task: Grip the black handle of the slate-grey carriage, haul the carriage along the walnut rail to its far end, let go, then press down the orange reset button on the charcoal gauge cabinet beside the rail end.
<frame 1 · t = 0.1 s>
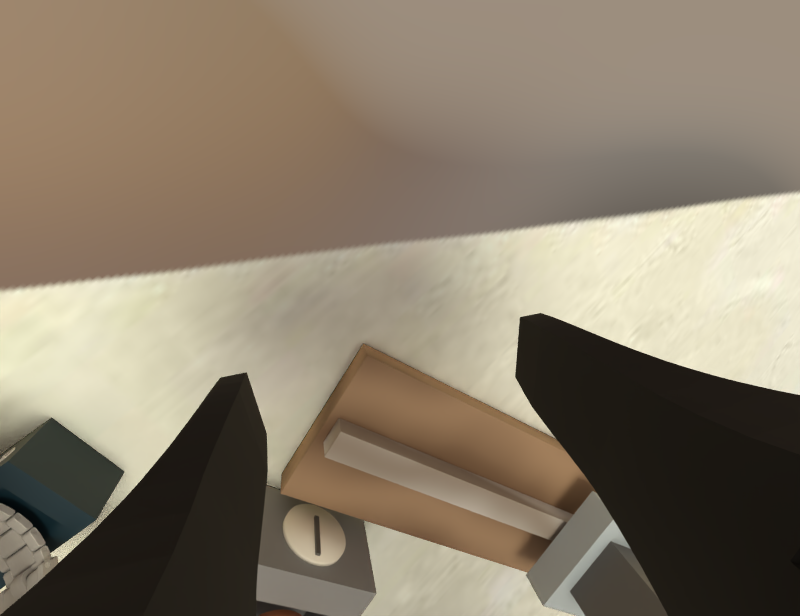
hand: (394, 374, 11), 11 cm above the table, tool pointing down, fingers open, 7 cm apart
carriage: (626, 594, 23), point 6 cm above the table, slide at -7.0 cm
rail track: (490, 480, 27), on the table
gauge cabinet: (279, 550, 25), on the table
watch: (44, 475, 20), on the table
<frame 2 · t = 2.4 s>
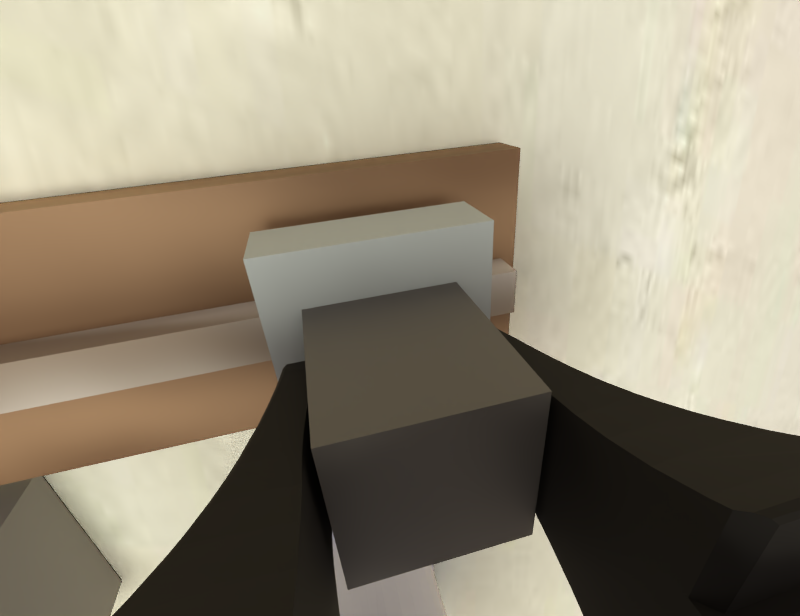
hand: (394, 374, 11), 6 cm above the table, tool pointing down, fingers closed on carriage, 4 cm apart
carriage: (399, 387, 10), point 6 cm above the table, slide at -7.0 cm, touching gripper
rail track: (164, 318, 14), on the table
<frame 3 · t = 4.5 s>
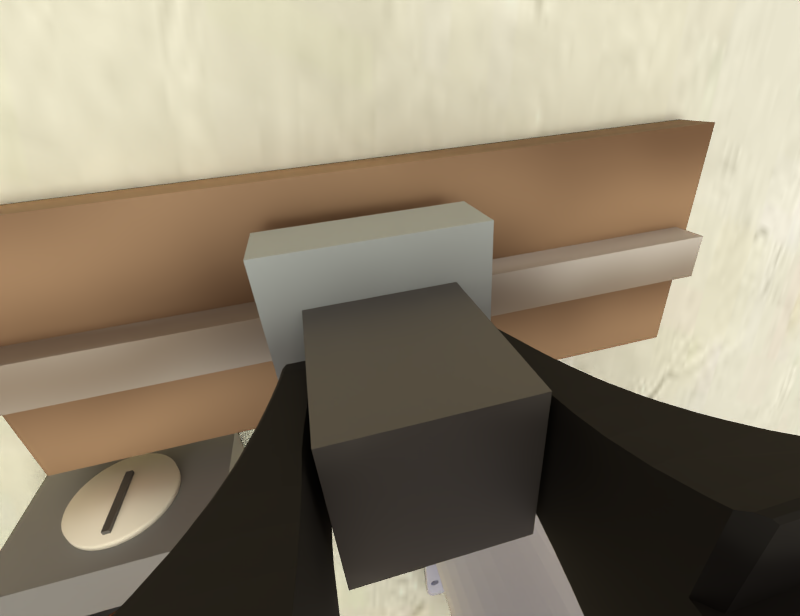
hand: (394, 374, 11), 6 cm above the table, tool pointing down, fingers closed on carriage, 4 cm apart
carriage: (399, 387, 10), point 6 cm above the table, slide at 0.4 cm, touching gripper
rail track: (371, 283, 16), on the table
gauge cabinet: (180, 508, 19), on the table
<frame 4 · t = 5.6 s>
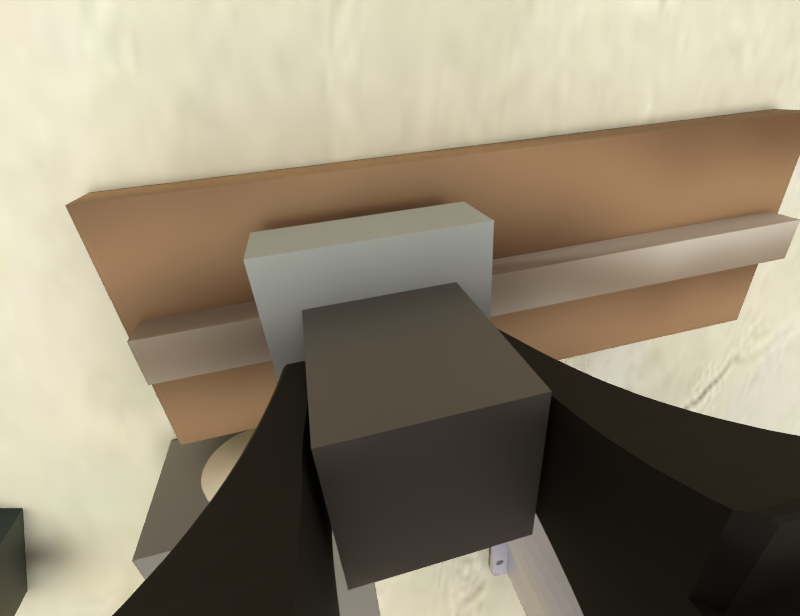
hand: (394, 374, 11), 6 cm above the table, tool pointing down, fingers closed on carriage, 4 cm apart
carriage: (399, 387, 10), point 6 cm above the table, slide at 4.9 cm, touching gripper
rail track: (480, 263, 16), on the table
gauge cabinet: (279, 483, 19), on the table
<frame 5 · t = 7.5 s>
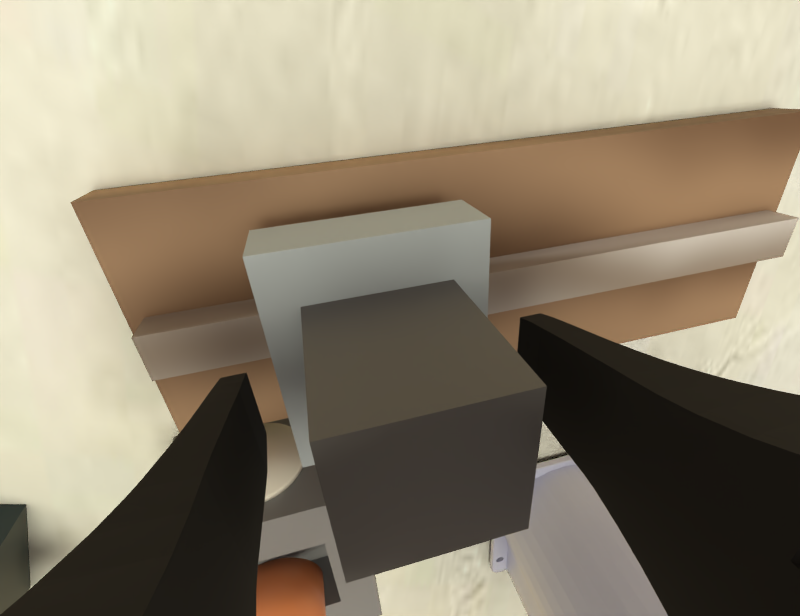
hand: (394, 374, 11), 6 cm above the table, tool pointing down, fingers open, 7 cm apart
carriage: (397, 384, 10), point 6 cm above the table, slide at 5.0 cm
rail track: (481, 261, 17), on the table
gauge cabinet: (281, 479, 19), on the table
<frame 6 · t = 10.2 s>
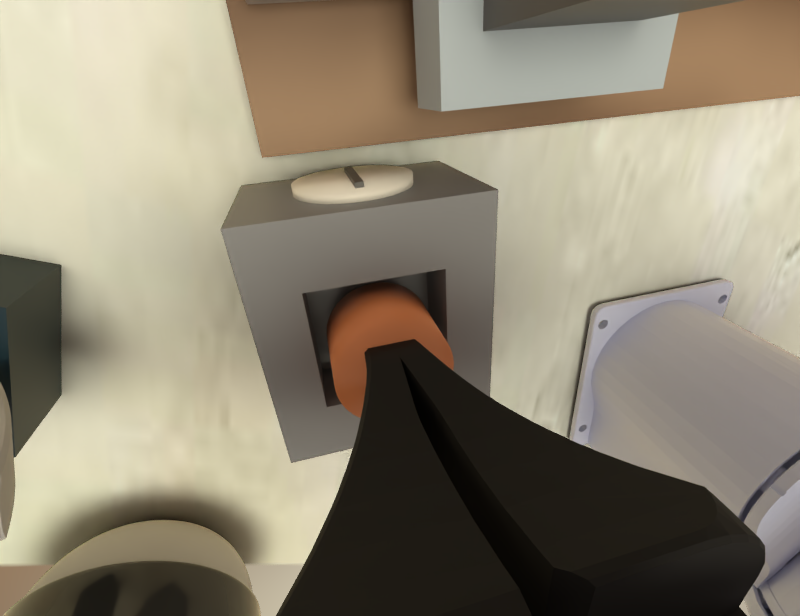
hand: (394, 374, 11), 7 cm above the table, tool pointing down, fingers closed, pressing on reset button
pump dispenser: (161, 549, 21), on the table
gauge cabinet: (358, 275, 16), on the table
reset button: (386, 350, 12), point 5 cm above the table, slide at 0.5 cm, touching gripper
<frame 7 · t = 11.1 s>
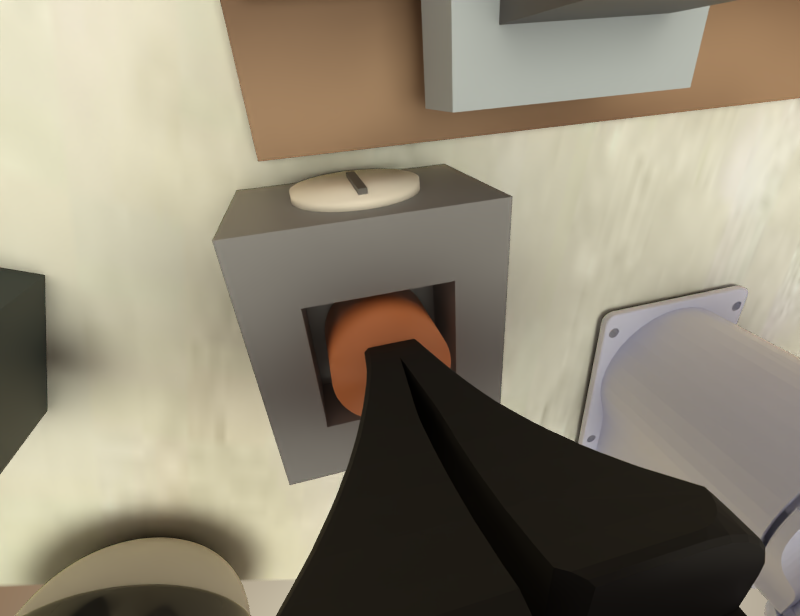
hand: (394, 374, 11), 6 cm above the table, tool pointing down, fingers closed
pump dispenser: (155, 566, 20), on the table
gauge cabinet: (359, 284, 16), on the table
reset button: (384, 348, 12), point 4 cm above the table, slide at 1.5 cm
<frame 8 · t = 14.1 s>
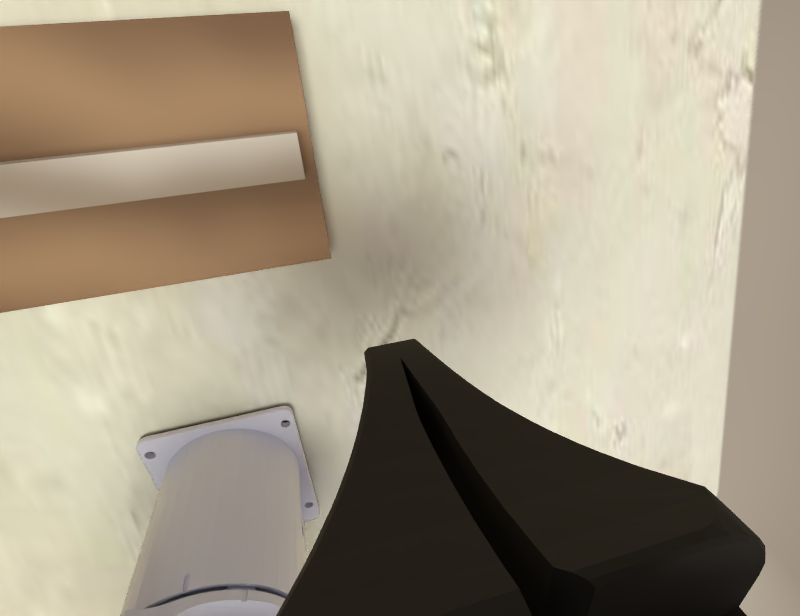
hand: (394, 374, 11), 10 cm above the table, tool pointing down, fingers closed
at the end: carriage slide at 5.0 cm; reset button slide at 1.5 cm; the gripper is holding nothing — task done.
